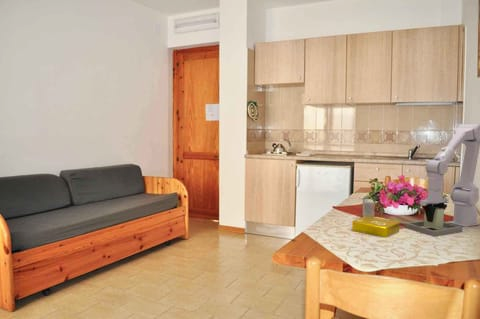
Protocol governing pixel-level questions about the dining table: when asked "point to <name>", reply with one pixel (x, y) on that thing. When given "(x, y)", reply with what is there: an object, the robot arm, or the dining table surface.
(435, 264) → the dining table surface
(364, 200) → the medicine box
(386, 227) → the element tile
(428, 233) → the grey flat square frame
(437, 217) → the parts box
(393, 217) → the walnut board
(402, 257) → the dining table surface
